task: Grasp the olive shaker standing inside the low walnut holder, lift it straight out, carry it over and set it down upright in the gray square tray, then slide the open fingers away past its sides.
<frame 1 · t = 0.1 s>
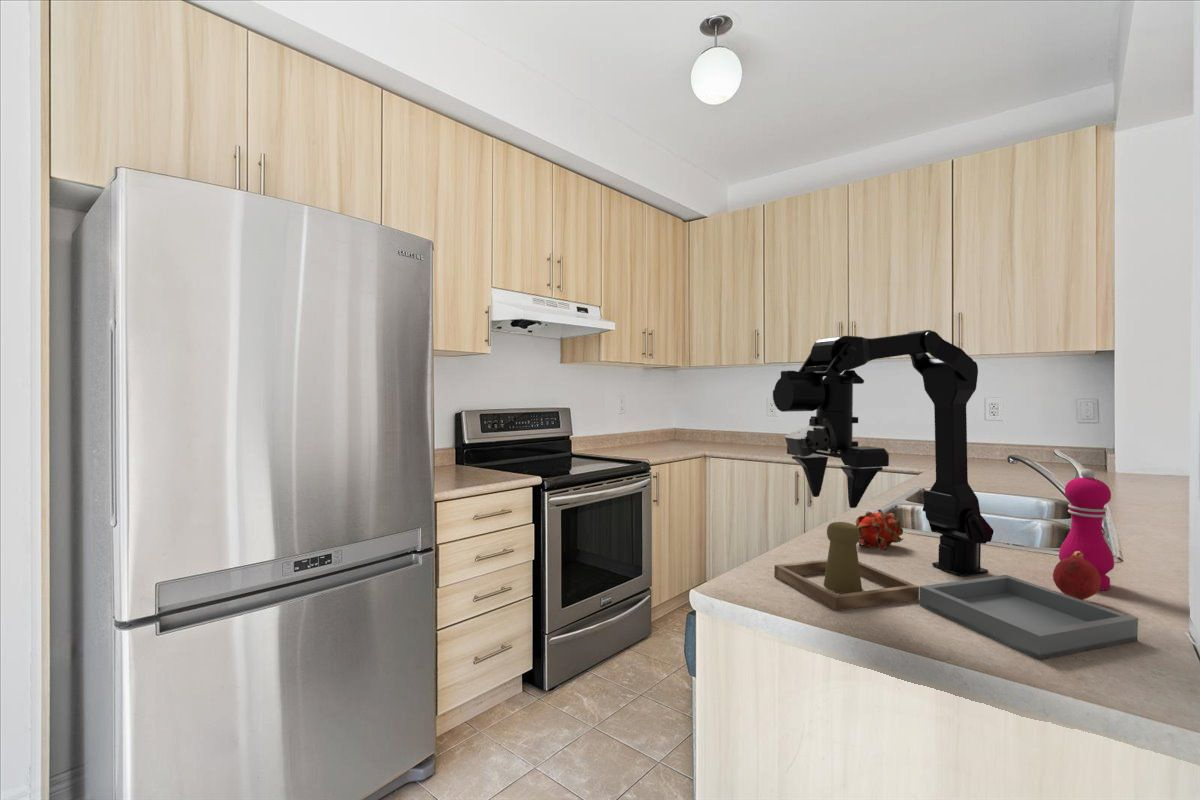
hand: (833, 502, 95), 14 cm above the counter, fingers open, 9 cm apart
dragon fruit: (876, 548, 118), on the counter
pomegranate: (1075, 602, 88), on the counter
gray square tray: (1020, 621, 81), on the counter
olive shaker: (842, 588, 95), resting in walnut holder
pepper mill: (1085, 585, 96), on the counter
walnut holder: (842, 586, 95), on the counter
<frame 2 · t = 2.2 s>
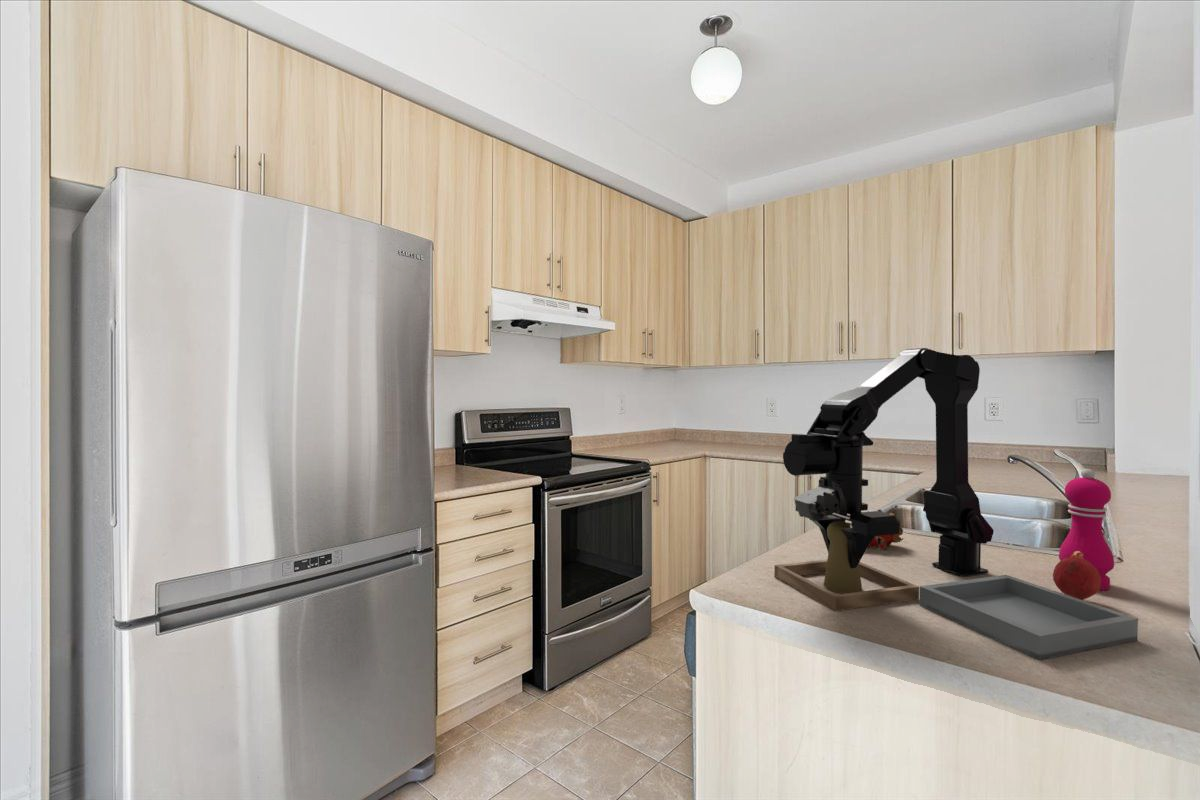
hand: (842, 563, 95), 4 cm above the counter, fingers closed on olive shaker, 4 cm apart
olive shaker: (842, 588, 95), resting in walnut holder, touching gripper
everything else where it was.
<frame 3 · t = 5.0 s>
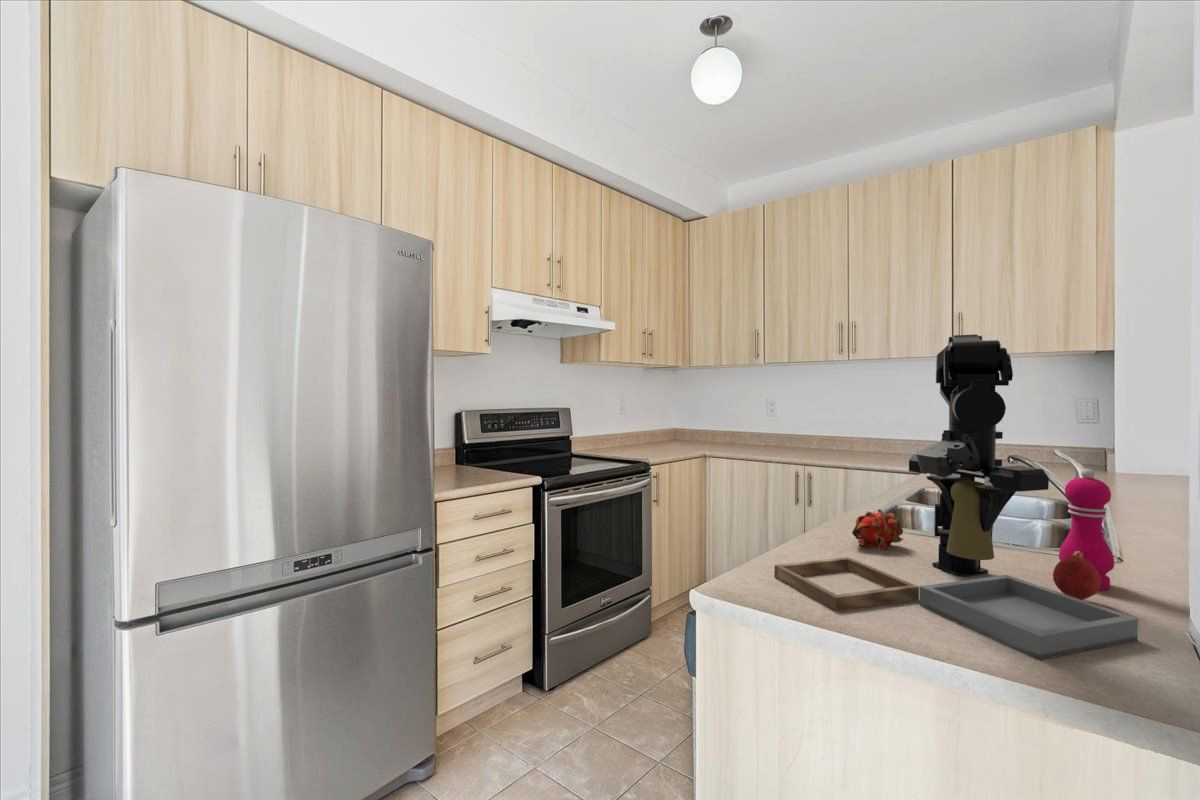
hand: (970, 527, 84), 13 cm above the counter, fingers closed on olive shaker, 4 cm apart
olive shaker: (969, 555, 84), point 9 cm above the counter, touching gripper
everything else where it was.
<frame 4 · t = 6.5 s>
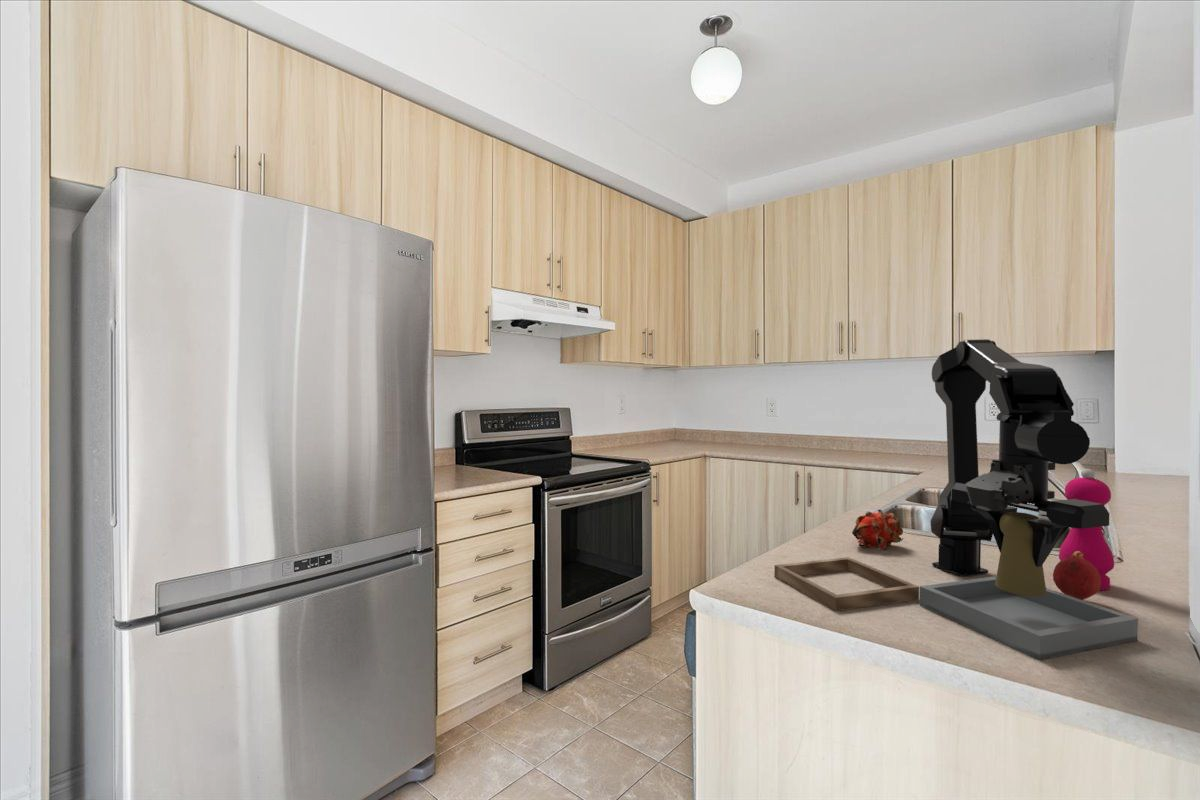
hand: (1021, 561, 81), 9 cm above the counter, fingers closed on olive shaker, 4 cm apart
olive shaker: (1020, 590, 81), point 5 cm above the counter, touching gripper
everything else where it was.
when the fingers open (5 cm above the counter, at t = 7.7 s): olive shaker stays where it is, resting on gray square tray.
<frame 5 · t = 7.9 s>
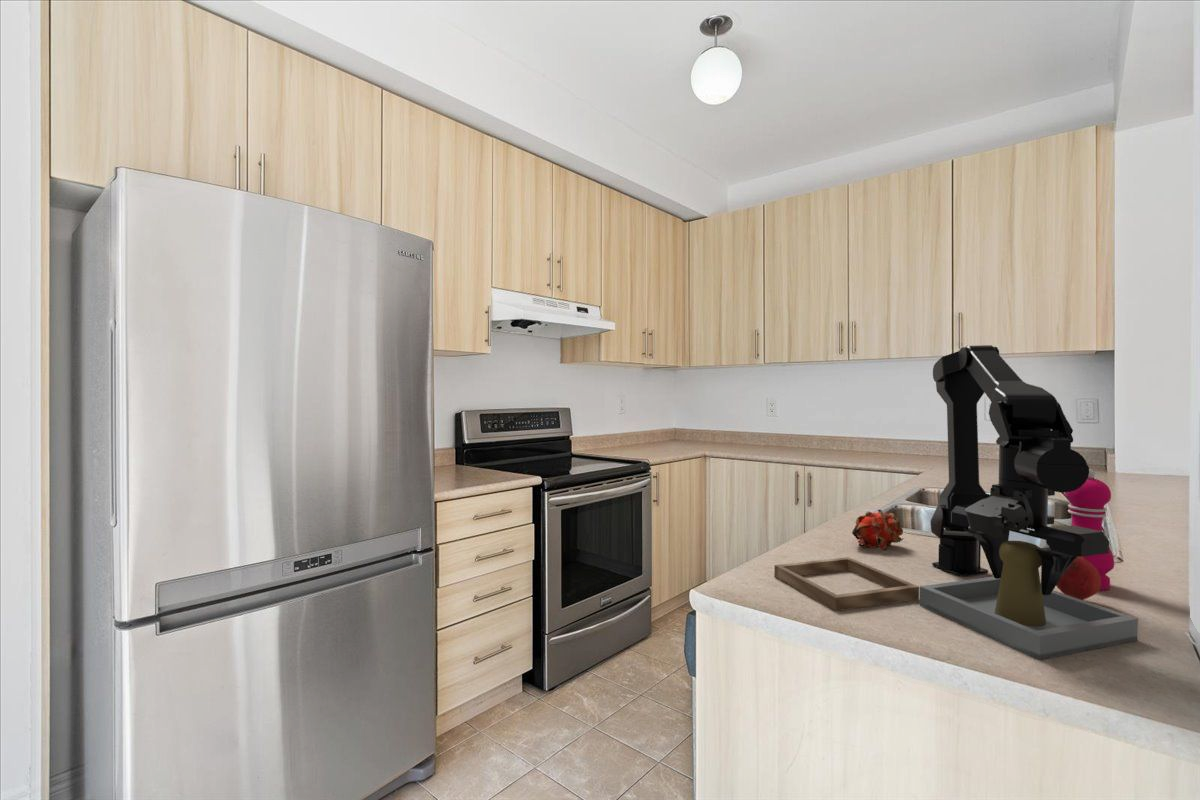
hand: (1020, 586, 81), 5 cm above the counter, fingers open, 7 cm apart
olive shaker: (1019, 618, 81), resting on gray square tray
everything else where it was.
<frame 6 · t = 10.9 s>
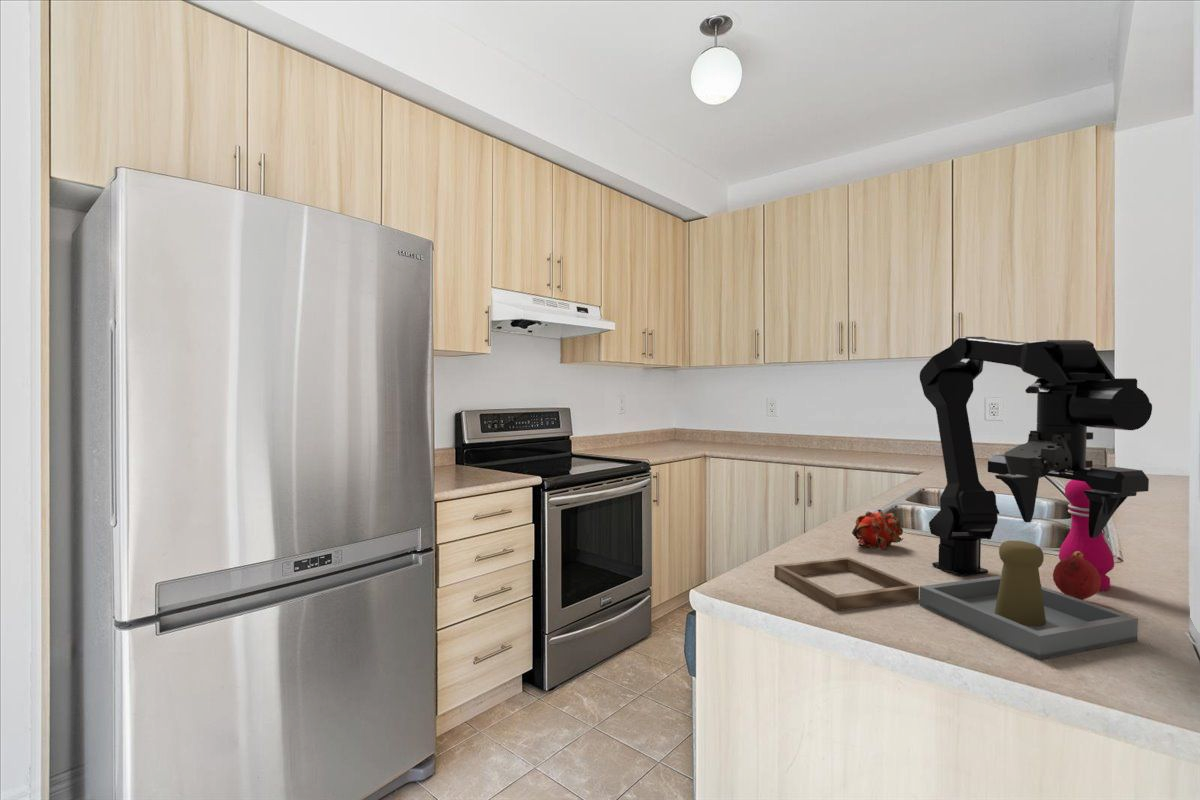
hand: (1058, 529, 83), 13 cm above the counter, fingers open, 9 cm apart
nothing on the counter moved.
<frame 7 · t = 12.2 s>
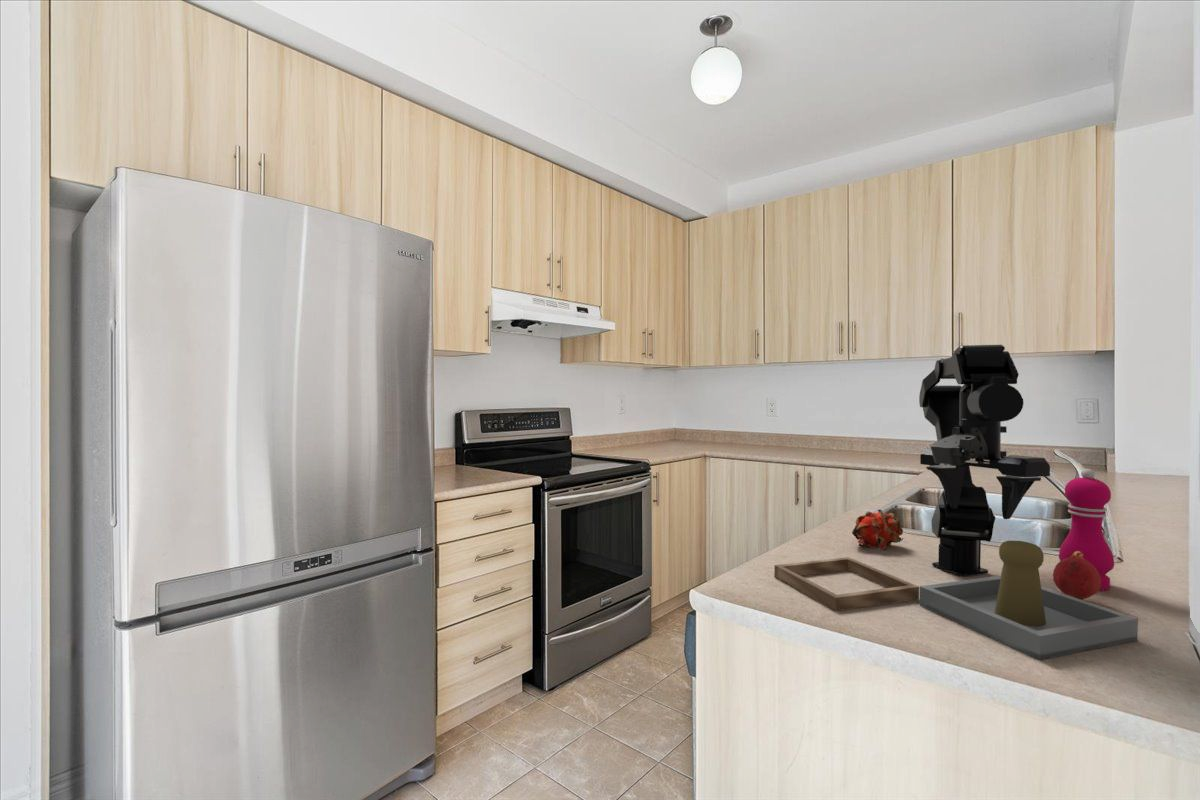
hand: (979, 513, 93), 13 cm above the counter, fingers open, 9 cm apart
nothing on the counter moved.
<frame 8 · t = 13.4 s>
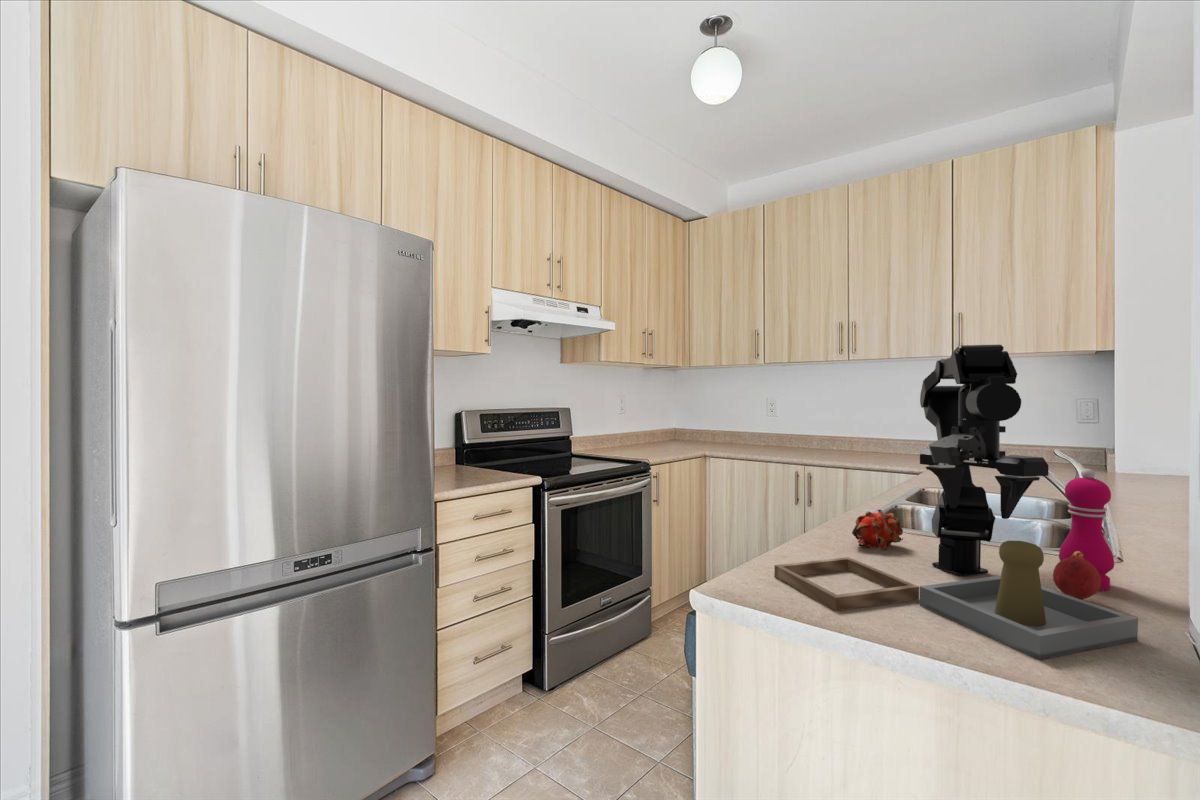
hand: (978, 513, 93), 13 cm above the counter, fingers open, 9 cm apart
nothing on the counter moved.
at the end: olive shaker inside the target area on the gray square tray (0.1 cm from its centre), point 0.4 cm above the gray square tray's base; olive shaker tilted 0°; the gripper is holding nothing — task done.
